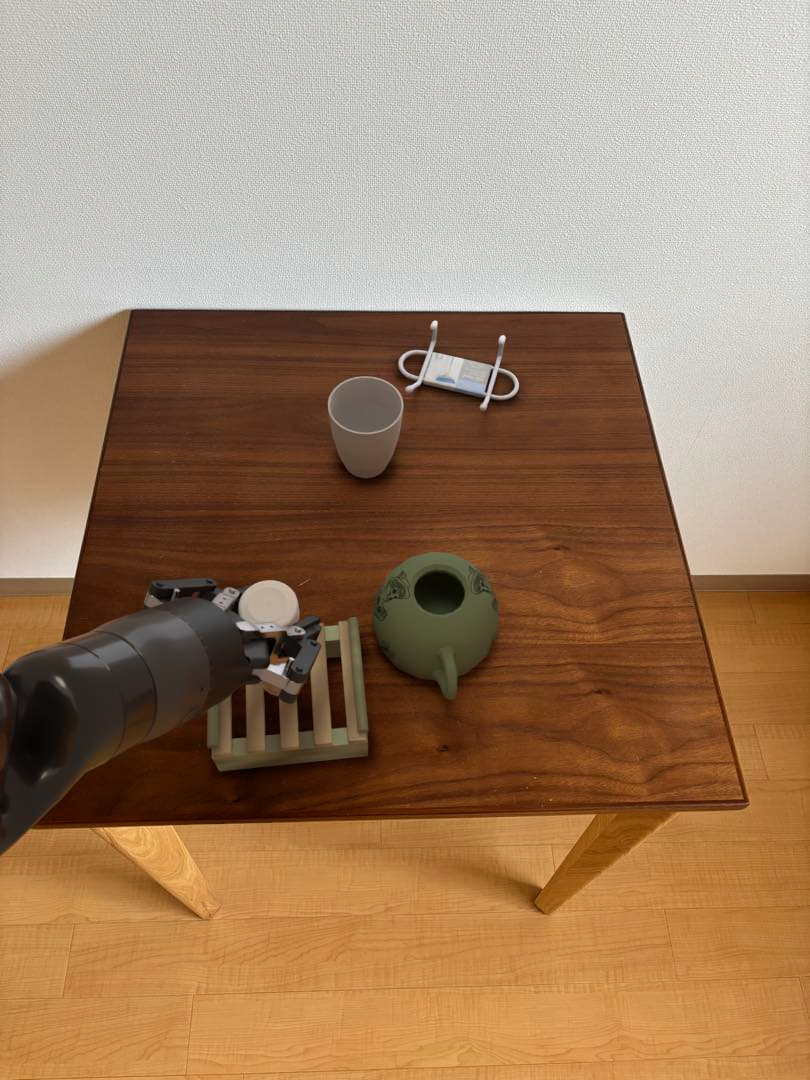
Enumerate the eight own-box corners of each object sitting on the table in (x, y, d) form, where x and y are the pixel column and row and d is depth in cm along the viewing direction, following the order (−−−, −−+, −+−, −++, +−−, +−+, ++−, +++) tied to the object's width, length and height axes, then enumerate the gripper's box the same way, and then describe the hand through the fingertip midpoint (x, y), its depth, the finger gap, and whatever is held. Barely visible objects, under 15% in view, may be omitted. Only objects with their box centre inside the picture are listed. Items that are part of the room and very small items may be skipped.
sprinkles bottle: (318, 675, 73) (310, 605, 62) (279, 708, 71) (263, 643, 60) (286, 641, 75) (271, 567, 63) (246, 672, 73) (224, 602, 62)
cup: (367, 423, 99) (367, 365, 90) (414, 462, 96) (419, 406, 88) (317, 459, 96) (312, 402, 87) (364, 501, 93) (363, 446, 84)
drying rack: (217, 771, 76) (206, 750, 71) (218, 653, 82) (207, 625, 77) (369, 756, 77) (369, 733, 72) (358, 641, 84) (357, 612, 78)
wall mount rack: (524, 365, 105) (532, 332, 100) (504, 445, 98) (511, 413, 93) (407, 340, 107) (409, 305, 102) (379, 416, 100) (379, 383, 95)
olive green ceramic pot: (365, 580, 87) (365, 538, 80) (484, 570, 89) (494, 527, 81) (381, 724, 79) (382, 691, 72) (511, 710, 80) (526, 677, 73)
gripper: (271, 676, 48) (379, 614, 64) (86, 562, 51) (232, 530, 67) (227, 779, 50) (343, 694, 66) (52, 663, 53) (202, 608, 69)
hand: (286, 611), depth 66 cm, fingers closed on sprinkles bottle, 4 cm apart
